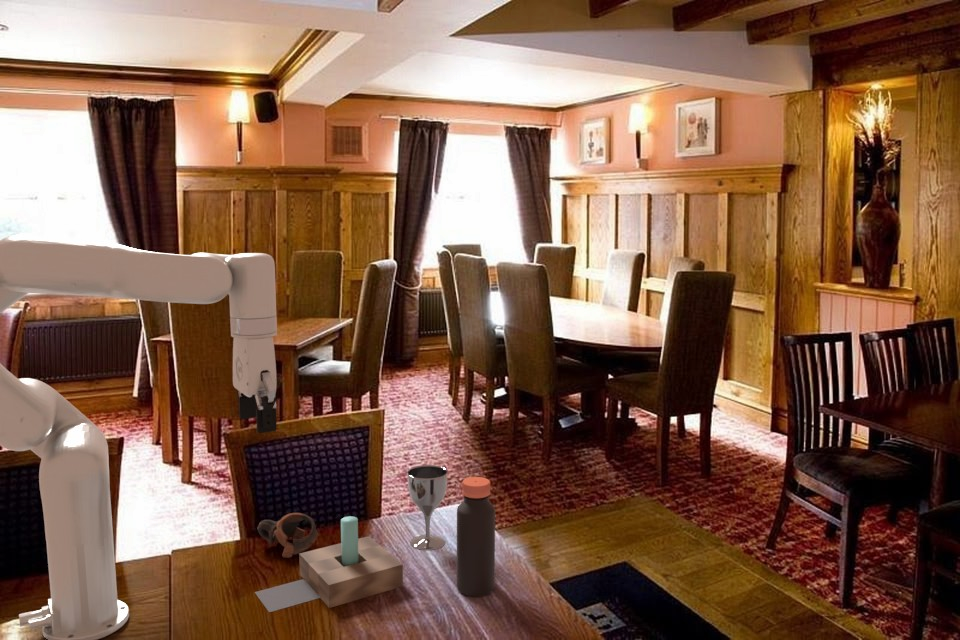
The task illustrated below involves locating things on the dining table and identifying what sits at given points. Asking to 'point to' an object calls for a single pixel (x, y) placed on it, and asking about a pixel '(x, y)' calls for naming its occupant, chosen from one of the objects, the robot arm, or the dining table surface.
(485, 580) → the bottle
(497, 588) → the dining table surface
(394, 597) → the dining table surface
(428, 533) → the wine glass
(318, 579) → the hole block
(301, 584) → the mat
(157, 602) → the dining table surface
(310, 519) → the brown hollow rounded piece
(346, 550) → the peg
